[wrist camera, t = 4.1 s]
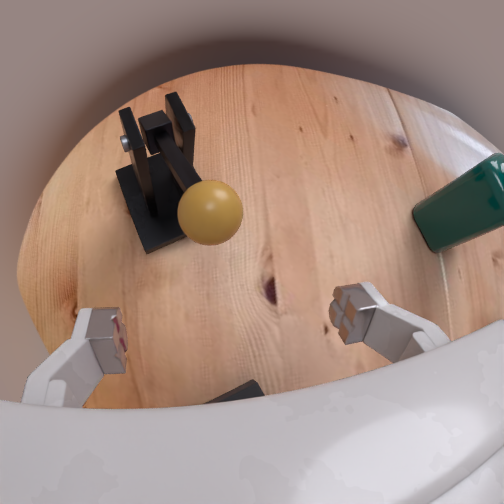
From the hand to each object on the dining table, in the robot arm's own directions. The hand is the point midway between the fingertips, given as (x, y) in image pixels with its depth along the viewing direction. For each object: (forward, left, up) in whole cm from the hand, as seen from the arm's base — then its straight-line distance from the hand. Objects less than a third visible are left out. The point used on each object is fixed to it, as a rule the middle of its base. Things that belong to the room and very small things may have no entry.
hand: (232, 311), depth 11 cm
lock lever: (+2, +9, -8) cm, 13 cm away
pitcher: (+38, -4, -22) cm, 44 cm away
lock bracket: (+2, +15, -22) cm, 27 cm away
